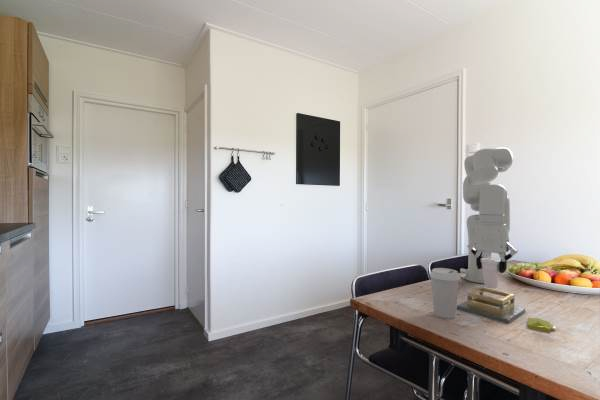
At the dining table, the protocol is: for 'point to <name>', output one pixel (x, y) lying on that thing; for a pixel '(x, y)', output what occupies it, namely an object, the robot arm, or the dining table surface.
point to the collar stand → (492, 305)
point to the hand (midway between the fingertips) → (491, 269)
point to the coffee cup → (444, 291)
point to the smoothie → (490, 271)
